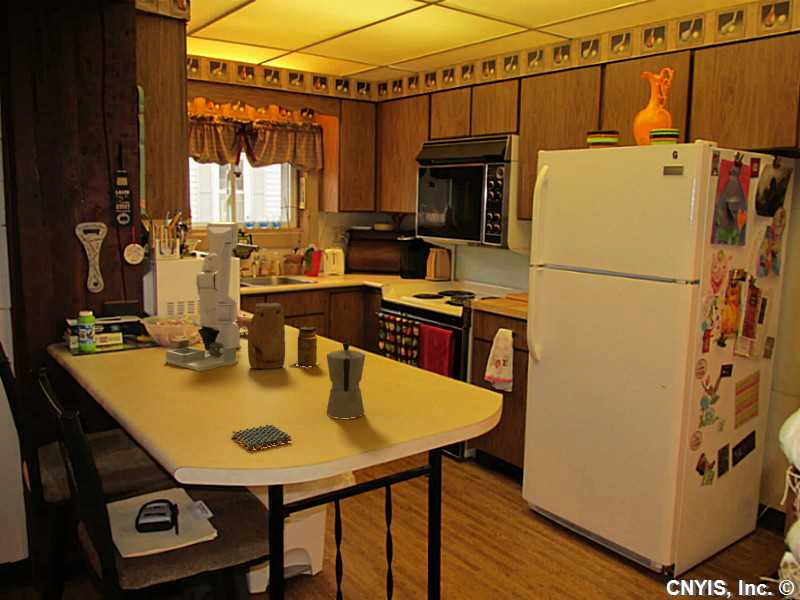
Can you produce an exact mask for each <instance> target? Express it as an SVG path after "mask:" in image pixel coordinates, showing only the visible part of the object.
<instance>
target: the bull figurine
mask: <svg viewBox="0 0 800 600" xmlns="http://www.w3.org/2000/svg"><path fill="white" fill-rule="evenodd" d="M242 313H243V312H241V311H239V312H237V318H236V323H237V324H238V326H239V330H240V331H241V329H242V330H243V331H244V330H245V331H248V327H249V325H250V323H251V320H252V317H247V316H246V314H245V313H243V314H242ZM246 337H247V338H248V335H247V336H246Z"/></svg>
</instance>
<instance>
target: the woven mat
mask: <svg viewBox="0 0 800 600" xmlns="http://www.w3.org/2000/svg"><path fill="white" fill-rule="evenodd" d="M232 433H233V434H232V435H231V439H232V438H236V440H235V439H234V441H235V442H236V441H240V442H242V443H241V444H242V445H241V446H242V447H243V446H244V447H245V446H247V447H246V448H245V450H247V449H250V450H253V449H254V448H255V449H260V450H262V449H261V448H263V447H264V446H265V447H268V446H271V444H272V445H275V444H276V445H278V444H281V443H285V442H286V443H288V441H293V440H292V439H293V437H292V436H291V435H289V434H288V433H287V432H285V431H283V430H281V429H279V428H278V427H276V426H275V425H273V424H272V425H269V424H266V425H265V426H262V425H260V426H258V427H252V429H251V428H250V429H249V428H246V429H245V430H242V429H240V430H239V431H235V430H233V431H232ZM274 443H275V444H274ZM262 444H263V445H262ZM267 445H268V446H267ZM278 446H279V445H278ZM253 447H254V448H253Z"/></svg>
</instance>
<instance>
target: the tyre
mask: <svg viewBox="0 0 800 600" xmlns="http://www.w3.org/2000/svg"><path fill="white" fill-rule="evenodd" d="M223 346H224V345H223V344H222V343H218V342H213V343H212V344H210V346H209V347H210V348H209V351H208V352H210V353H209V354H210V355H211V356H215V357H220V355H221V356H222V355H223V353H220V352H219V349H220V348H222V349H223V348H224V347H223ZM216 348H217V350H216Z"/></svg>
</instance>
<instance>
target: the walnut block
mask: <svg viewBox="0 0 800 600" xmlns="http://www.w3.org/2000/svg"><path fill="white" fill-rule="evenodd" d="M169 345H170V346H169V350H174V349H179V348H185V347H190V340H189V338H188V339H187V338H183V337H176V338H172V339H170V338H169Z"/></svg>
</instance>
